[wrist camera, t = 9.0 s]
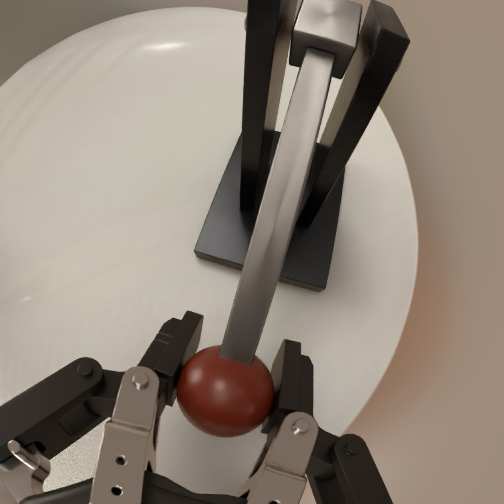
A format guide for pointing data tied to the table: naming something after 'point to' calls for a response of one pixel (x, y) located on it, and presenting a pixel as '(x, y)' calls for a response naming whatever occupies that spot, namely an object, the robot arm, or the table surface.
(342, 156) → the bracket
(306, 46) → the lever
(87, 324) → the table surface
